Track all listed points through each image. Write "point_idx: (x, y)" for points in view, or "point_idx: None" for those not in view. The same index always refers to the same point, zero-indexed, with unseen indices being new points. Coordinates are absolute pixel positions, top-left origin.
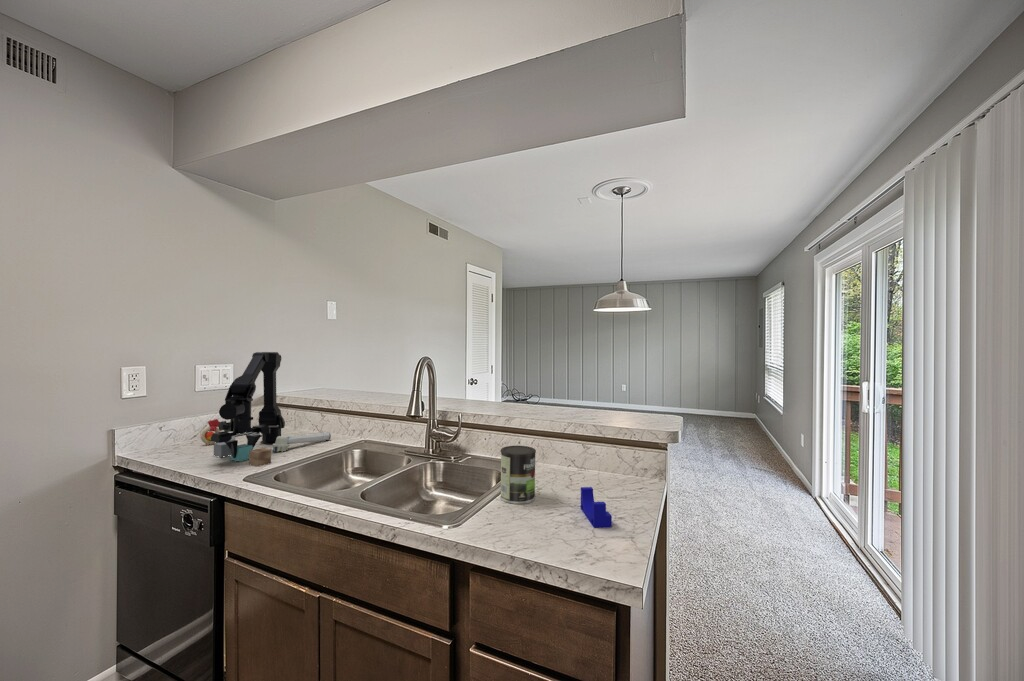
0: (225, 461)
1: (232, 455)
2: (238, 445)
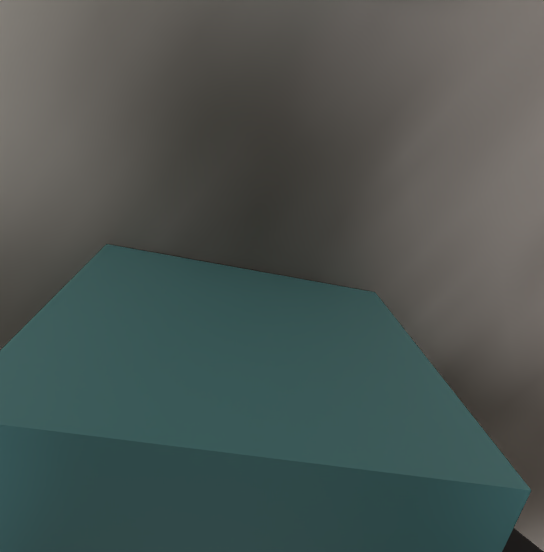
0: (3, 216)
1: None
2: (259, 489)
